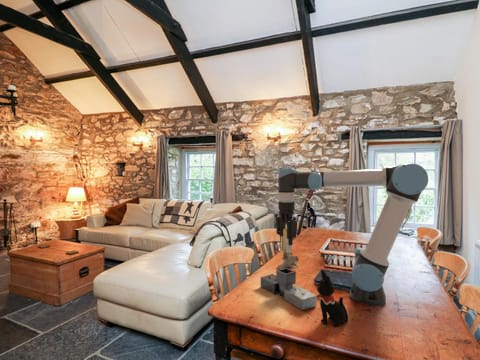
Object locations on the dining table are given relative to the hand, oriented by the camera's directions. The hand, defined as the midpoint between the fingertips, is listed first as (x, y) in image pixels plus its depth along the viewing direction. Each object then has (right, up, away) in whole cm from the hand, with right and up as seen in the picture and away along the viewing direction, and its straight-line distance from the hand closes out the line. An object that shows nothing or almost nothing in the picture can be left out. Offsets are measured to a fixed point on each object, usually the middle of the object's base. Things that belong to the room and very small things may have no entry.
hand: (286, 250), depth 134 cm
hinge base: (-3, -21, +5) cm, 22 cm away
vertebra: (+8, -20, +38) cm, 43 cm away
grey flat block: (+5, -21, -7) cm, 23 cm away
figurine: (+15, -23, -22) cm, 35 cm away
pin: (0, -4, 0) cm, 4 cm away
